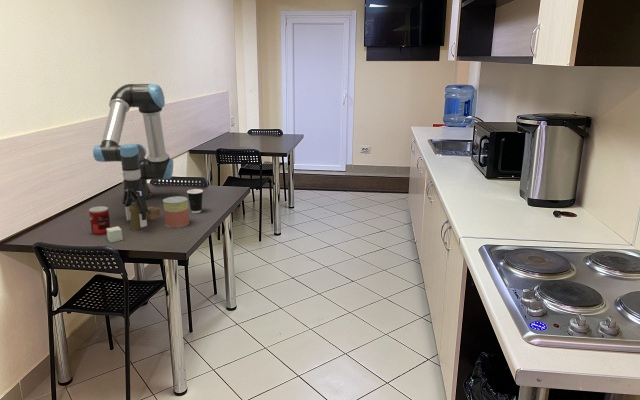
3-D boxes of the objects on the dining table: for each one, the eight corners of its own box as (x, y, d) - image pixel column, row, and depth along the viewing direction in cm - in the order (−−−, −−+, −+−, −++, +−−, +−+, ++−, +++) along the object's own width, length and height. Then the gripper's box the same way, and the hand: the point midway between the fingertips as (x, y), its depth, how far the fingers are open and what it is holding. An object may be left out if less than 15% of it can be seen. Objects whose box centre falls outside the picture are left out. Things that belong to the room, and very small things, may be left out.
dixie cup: (189, 214, 241) (187, 193, 238) (187, 210, 248) (186, 189, 245) (205, 213, 244) (203, 192, 241) (203, 208, 251) (202, 188, 248)
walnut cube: (145, 218, 234) (144, 209, 233) (153, 216, 239) (152, 206, 237) (152, 220, 232) (151, 210, 231) (160, 217, 236) (159, 208, 235)
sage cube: (107, 239, 207) (106, 228, 206) (119, 237, 210) (118, 226, 209) (110, 242, 203) (109, 231, 202) (122, 240, 206) (121, 229, 205)
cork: (127, 228, 220) (124, 206, 217) (136, 224, 225) (134, 202, 222) (137, 230, 218) (135, 207, 215) (146, 226, 223) (144, 204, 220)
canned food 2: (193, 221, 232) (191, 197, 228) (182, 228, 221) (180, 203, 218) (172, 219, 234) (170, 195, 231) (160, 226, 223) (157, 202, 220)
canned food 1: (96, 228, 220) (93, 206, 216) (113, 229, 219) (111, 206, 216) (88, 234, 212) (85, 211, 209) (106, 234, 212) (103, 211, 209)
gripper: (111, 175, 221) (116, 218, 227) (137, 184, 204) (142, 231, 210) (127, 172, 226) (131, 215, 232) (153, 181, 209) (157, 227, 215)
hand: (136, 223), depth 221 cm, fingers open, 13 cm apart
